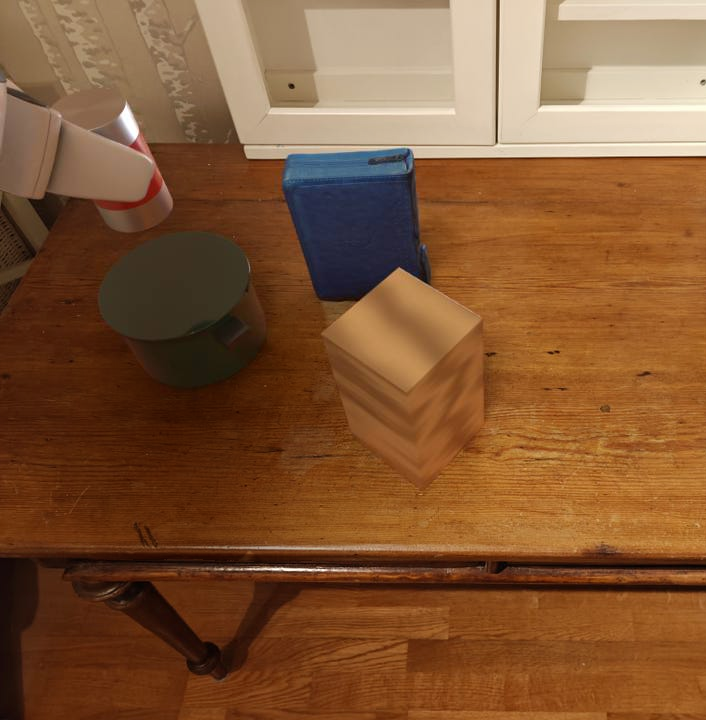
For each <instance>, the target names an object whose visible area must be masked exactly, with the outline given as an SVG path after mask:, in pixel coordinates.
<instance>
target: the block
mask: <svg viewBox="0 0 706 720" xmlns="http://www.w3.org/2000/svg"><path fill="white" fill-rule="evenodd" d="M320 335H321V339H322V343H323V345H324V348H325V353H326V355H327V358H328V362H329V364H330V368H331V371H332V374H333V378H334V380H335V384H336V388H337V390H338V394H339V397H340V400H341V403H342V407H343V410H344V413H345V416H346V420H347V422H348V426H349V430H350V432H351V436H352V438H353V440H355V441H356V442H357V443H358V444H360V445H361V446H362V447H364V448H365V449H366V450H368V451H369V452H370V453H372V454H373V455H375V457H377V458H378V459H379V460H381V461H382V462H384V463H385V464H387V465H388V466H389V467H390V468H391V469H392V470H394V471H395V472H397V473H398V474H400V475H401V476H402V477H404V478H405V479H406V480H408V481H409V482H410V483H412V484H413V485H414V486H415V487H417V488H418V489H419V490H421V491H423V492H424V491H425V490H426V489H427V488H428V487H429V486H430V485H431V484H432V482H433V481H435V479H436V478H438V476H439V475H440V474H441V473H442V472H443V470H445V469H446V468H447V466H448V465H449V464H450V463H451V462H452V461H453V459H455V458H456V456H457V455H458V454H459V453H460V452H461V451H462V450H463V449H464V448H465V447H466V445H468V443H469V442H470V441H471V440H472V439H473V438H474V437H475V436H476V435H477V433H478V432H479V431H480V430H481V429H482V428H483V427H484V426H485V386H484V385H485V384H484V383H485V380H484V377H485V376H484V375H485V374H484V373H485V371H484V318H483V317H482V316H480V315H478V314H477V313H475V312H474V311H472V310H470V308H469V309H468V308H467V307H465V306H463V305H462V304H460V303H459V302H457V301H456V300H454V299H452V298H450V297H449V296H446V295H445V294H444V293H442V292H441V291H438V290H437V289H435V288H434V287H432V286H431V285H430V286H429V285H427V284H425V283H424V282H422V281H420V280H419V279H417V278H415V277H414V276H412V275H410V274H409V273H407V272H406V271H404V270H402V269H401V268H398V269H396V270H395V271H394V272H393V273H392V274H390V275H389V276H388V277H387V278H386V279H385V280H383V281H382V282H381V283H380V284H379V285H377V286H376V287H375V288H374V289H373V290H372V291H370V292H369V293H368V294H367V295H366V296H364V297H363V298H362V299H359V301H357V302H356V303H355V304H354V305H353V306H351V307H350V308H349V309H347V310H346V311H345V312H344V313H343V314H342V315H341V316H340V317H338V318H337V319H335V320H334V322H333V323H332V324H330V325H329V326H328V327H326V328H325V329H324V330H323V331H321V333H320Z"/></svg>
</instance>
